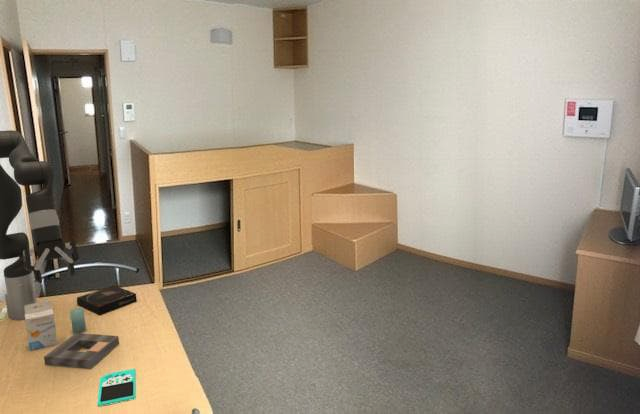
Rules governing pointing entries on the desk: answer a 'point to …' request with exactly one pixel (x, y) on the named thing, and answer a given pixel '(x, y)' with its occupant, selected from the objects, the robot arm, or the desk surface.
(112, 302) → the portable cd player
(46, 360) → the holder
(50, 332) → the ink box
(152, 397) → the desk surface
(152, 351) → the desk surface
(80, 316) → the peg
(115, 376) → the handheld game console
